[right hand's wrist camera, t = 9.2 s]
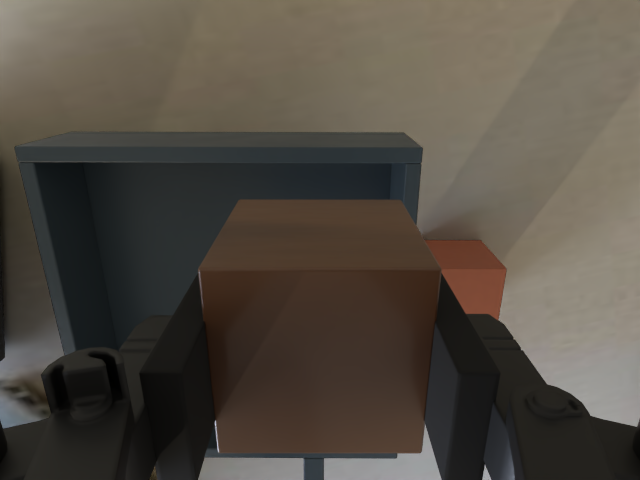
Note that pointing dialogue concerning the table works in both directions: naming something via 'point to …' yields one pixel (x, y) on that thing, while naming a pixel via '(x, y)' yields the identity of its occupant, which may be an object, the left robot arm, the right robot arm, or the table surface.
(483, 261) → the terracotta cube
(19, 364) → the table surface
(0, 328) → the graphics card box
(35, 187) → the tray
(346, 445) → the walnut cube
